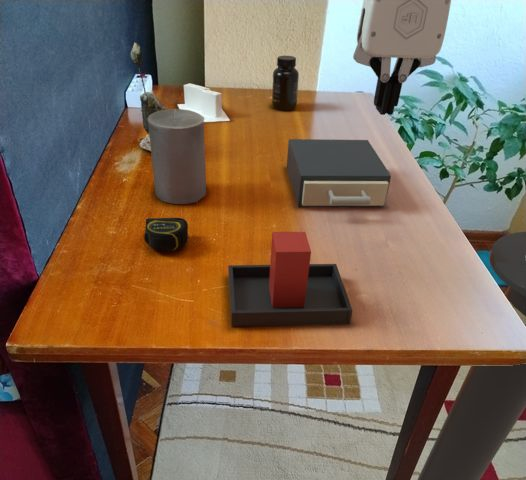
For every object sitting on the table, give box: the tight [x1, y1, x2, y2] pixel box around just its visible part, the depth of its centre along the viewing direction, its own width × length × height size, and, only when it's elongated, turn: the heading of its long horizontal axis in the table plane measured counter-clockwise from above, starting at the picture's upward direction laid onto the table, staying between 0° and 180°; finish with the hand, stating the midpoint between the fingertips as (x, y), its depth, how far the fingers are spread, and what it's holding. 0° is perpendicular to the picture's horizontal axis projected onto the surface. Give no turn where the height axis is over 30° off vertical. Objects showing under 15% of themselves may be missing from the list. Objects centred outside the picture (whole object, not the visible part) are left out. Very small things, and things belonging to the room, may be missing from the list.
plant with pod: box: [130, 42, 167, 152], centre depth 102 cm, size 8×11×20 cm
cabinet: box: [286, 138, 392, 208], centre depth 96 cm, size 18×17×6 cm
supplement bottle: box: [271, 55, 300, 112], centre depth 129 cm, size 7×7×12 cm
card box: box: [269, 231, 312, 308], centre depth 67 cm, size 4×5×9 cm
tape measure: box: [143, 217, 189, 252], centre depth 78 cm, size 7×7×4 cm
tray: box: [227, 263, 354, 328], centre depth 69 cm, size 16×11×2 cm
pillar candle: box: [148, 108, 207, 205], centre depth 88 cm, size 10×10×15 cm
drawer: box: [302, 180, 390, 207], centre depth 93 cm, size 21×15×4 cm
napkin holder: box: [177, 82, 231, 123], centre depth 126 cm, size 15×11×6 cm
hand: (383, 111), depth 68 cm, fingers closed
